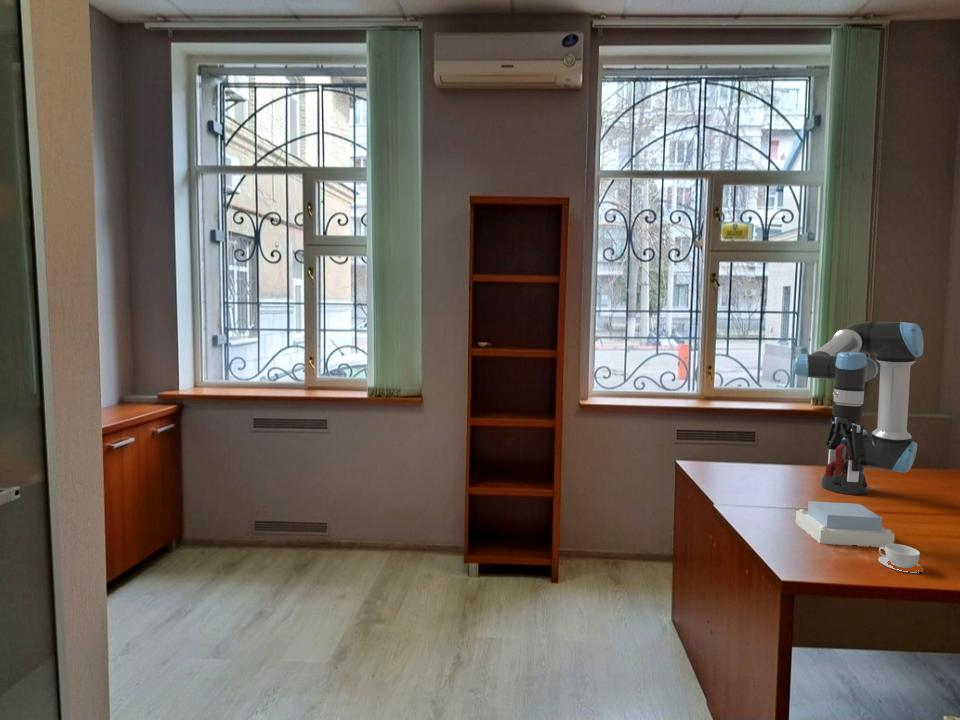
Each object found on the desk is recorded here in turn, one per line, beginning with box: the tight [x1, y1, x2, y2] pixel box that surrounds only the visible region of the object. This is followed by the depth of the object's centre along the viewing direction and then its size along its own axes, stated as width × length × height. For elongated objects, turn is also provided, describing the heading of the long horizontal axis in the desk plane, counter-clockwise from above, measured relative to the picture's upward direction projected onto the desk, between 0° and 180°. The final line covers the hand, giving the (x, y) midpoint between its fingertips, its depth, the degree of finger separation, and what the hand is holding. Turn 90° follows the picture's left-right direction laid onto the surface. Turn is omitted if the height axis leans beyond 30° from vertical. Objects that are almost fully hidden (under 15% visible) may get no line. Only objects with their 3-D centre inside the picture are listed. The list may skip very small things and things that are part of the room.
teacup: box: [877, 543, 923, 574], centre depth 150 cm, size 10×10×5 cm
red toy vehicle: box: [825, 442, 850, 480], centre depth 169 cm, size 7×12×10 cm, turn 136°
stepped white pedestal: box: [795, 500, 896, 548], centre depth 170 cm, size 20×16×8 cm
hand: (842, 475), depth 169 cm, fingers closed on red toy vehicle, 11 cm apart
